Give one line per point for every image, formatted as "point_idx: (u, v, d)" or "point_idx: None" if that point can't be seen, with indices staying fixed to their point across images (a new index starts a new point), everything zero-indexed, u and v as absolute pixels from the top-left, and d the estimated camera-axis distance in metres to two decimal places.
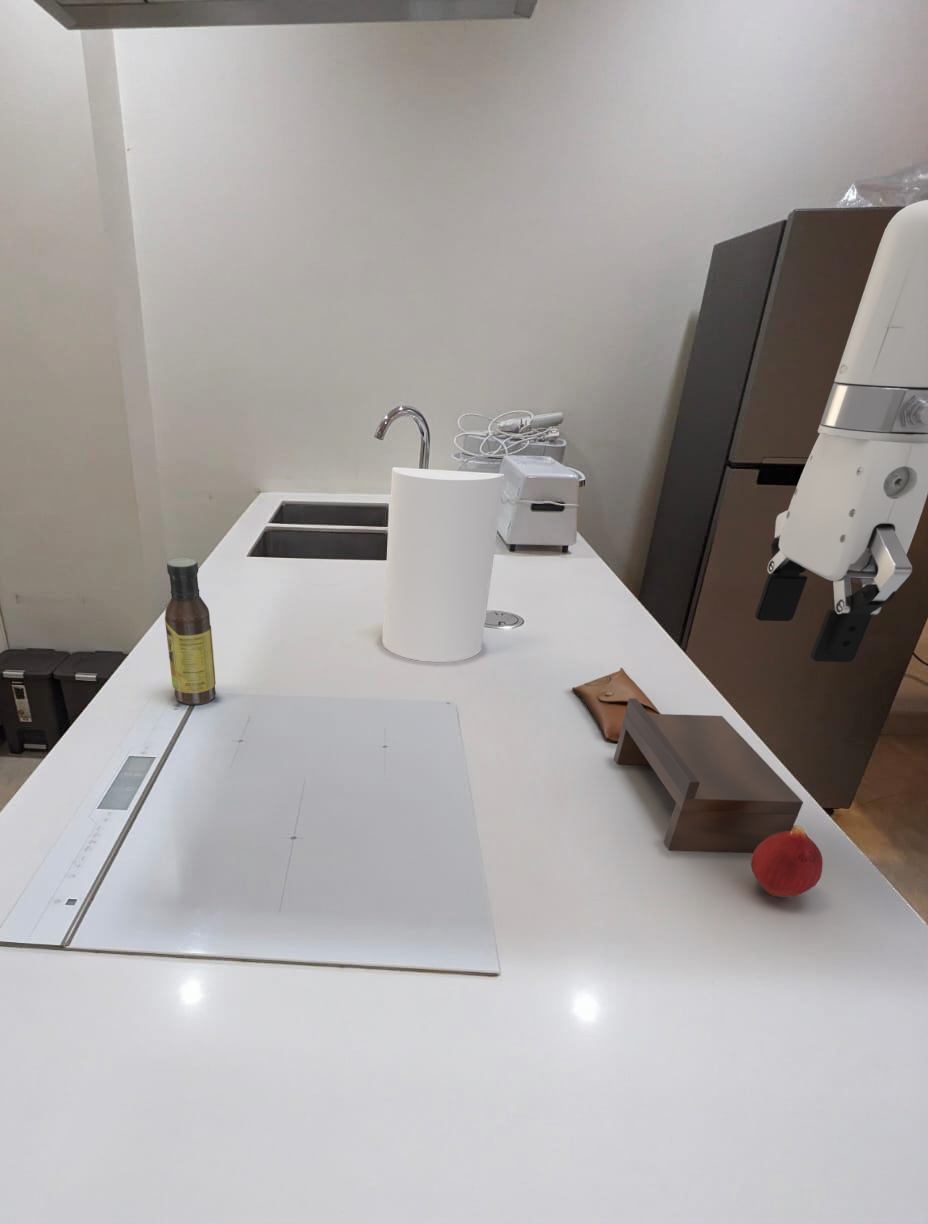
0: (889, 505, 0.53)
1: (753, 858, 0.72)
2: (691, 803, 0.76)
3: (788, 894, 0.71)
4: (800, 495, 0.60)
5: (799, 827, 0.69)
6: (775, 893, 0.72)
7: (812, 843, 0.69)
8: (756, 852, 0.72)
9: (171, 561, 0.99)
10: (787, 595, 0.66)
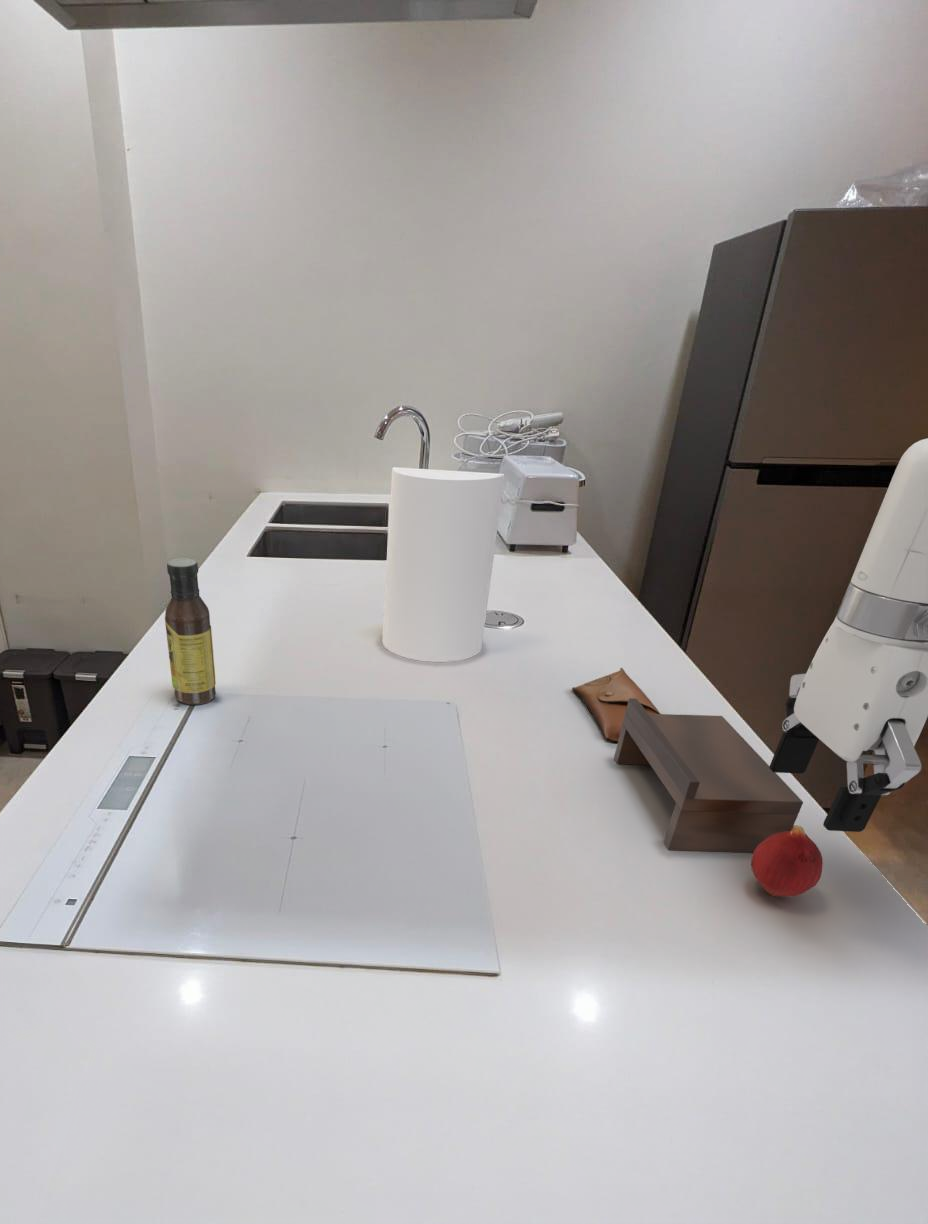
0: (901, 703, 0.57)
1: (753, 858, 0.72)
2: (691, 803, 0.76)
3: (788, 894, 0.71)
4: (816, 671, 0.64)
5: (799, 827, 0.69)
6: (775, 893, 0.72)
7: (812, 843, 0.69)
8: (756, 852, 0.72)
9: (171, 561, 0.99)
10: (800, 752, 0.70)
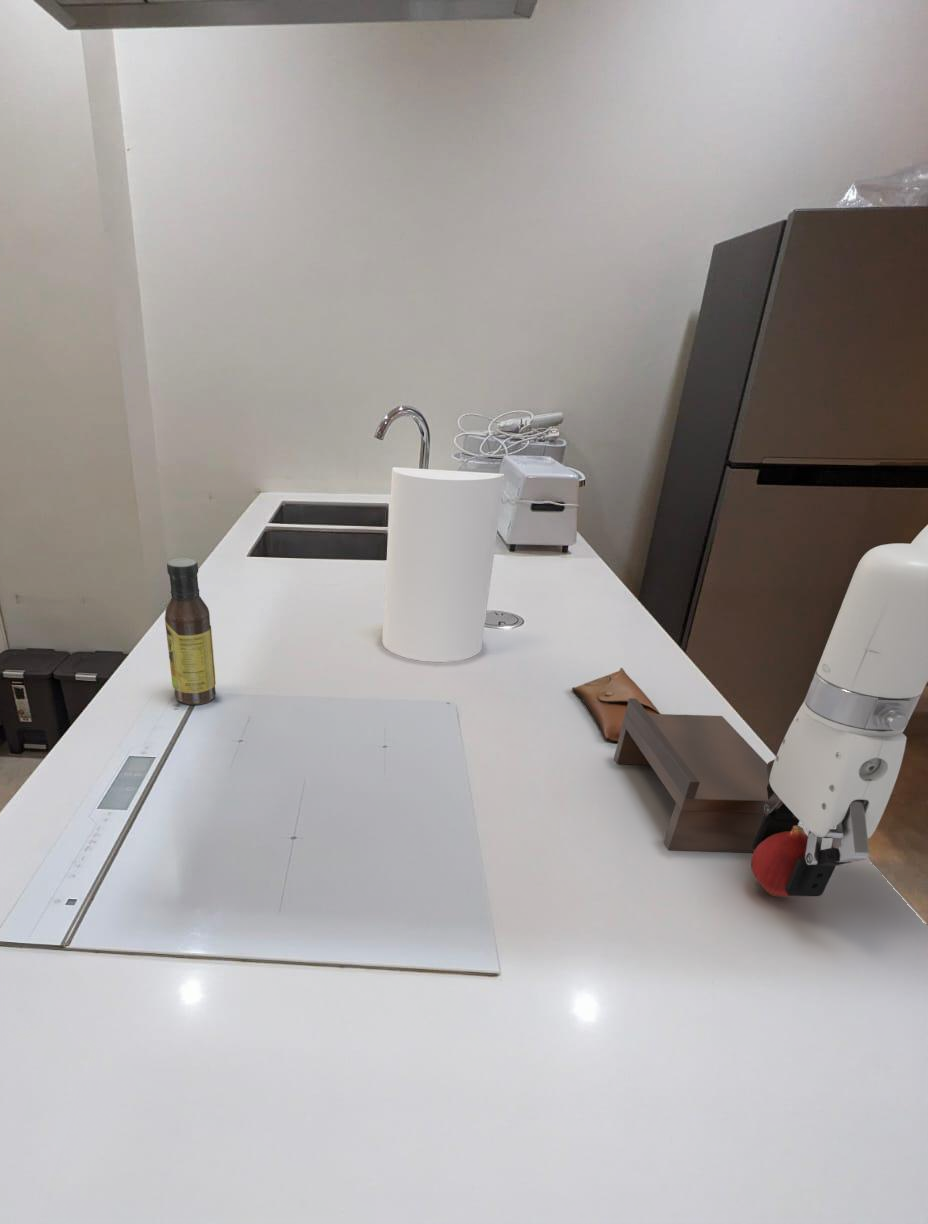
0: (864, 786, 0.61)
1: (753, 858, 0.72)
2: (691, 803, 0.76)
3: None
4: (788, 748, 0.68)
5: (799, 827, 0.69)
6: (775, 893, 0.72)
7: None
8: (756, 852, 0.72)
9: (171, 561, 0.99)
10: None
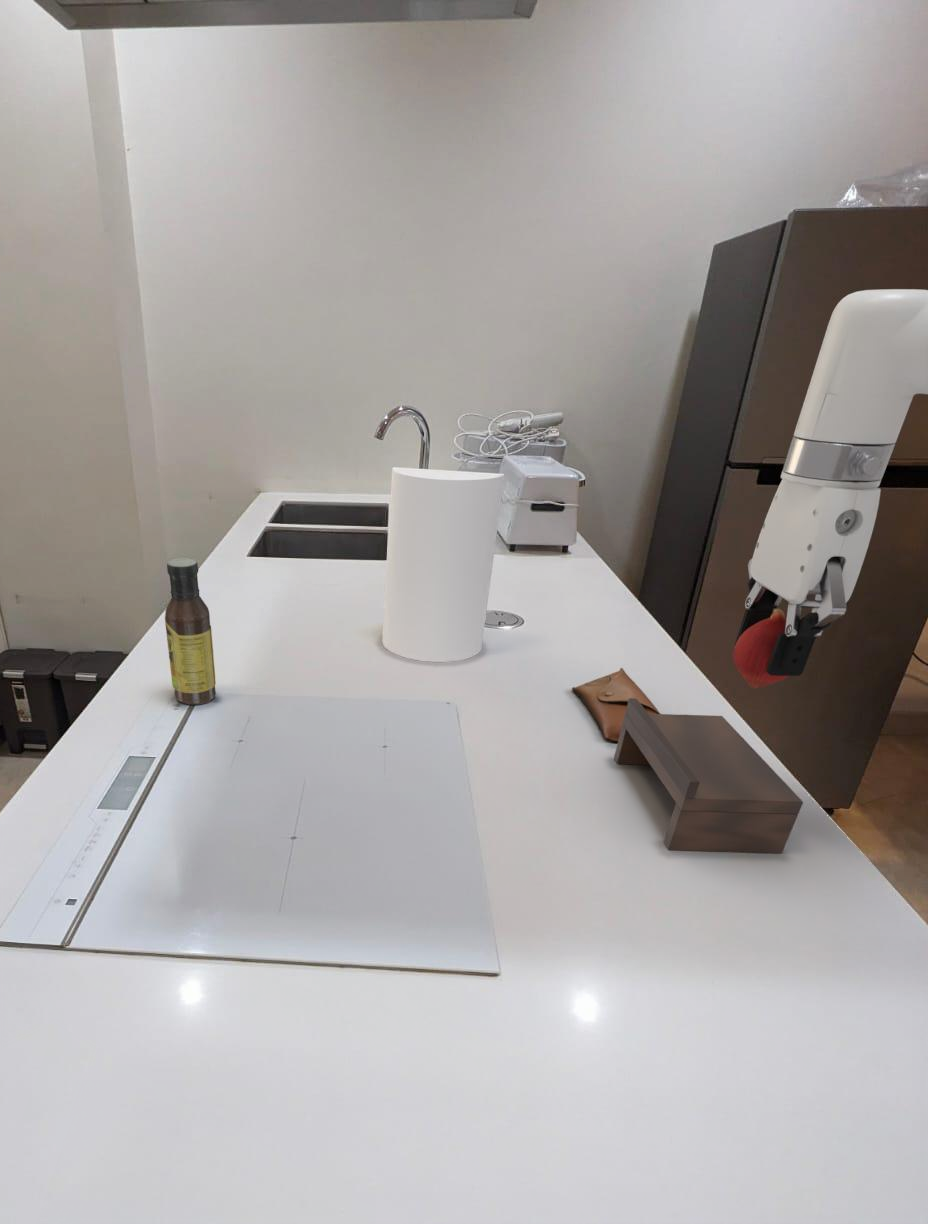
0: (840, 541, 0.63)
1: (735, 649, 0.74)
2: (691, 803, 0.76)
3: (769, 679, 0.72)
4: (767, 529, 0.70)
5: (779, 610, 0.71)
6: (757, 680, 0.73)
7: None
8: (738, 642, 0.74)
9: (171, 561, 0.99)
10: None
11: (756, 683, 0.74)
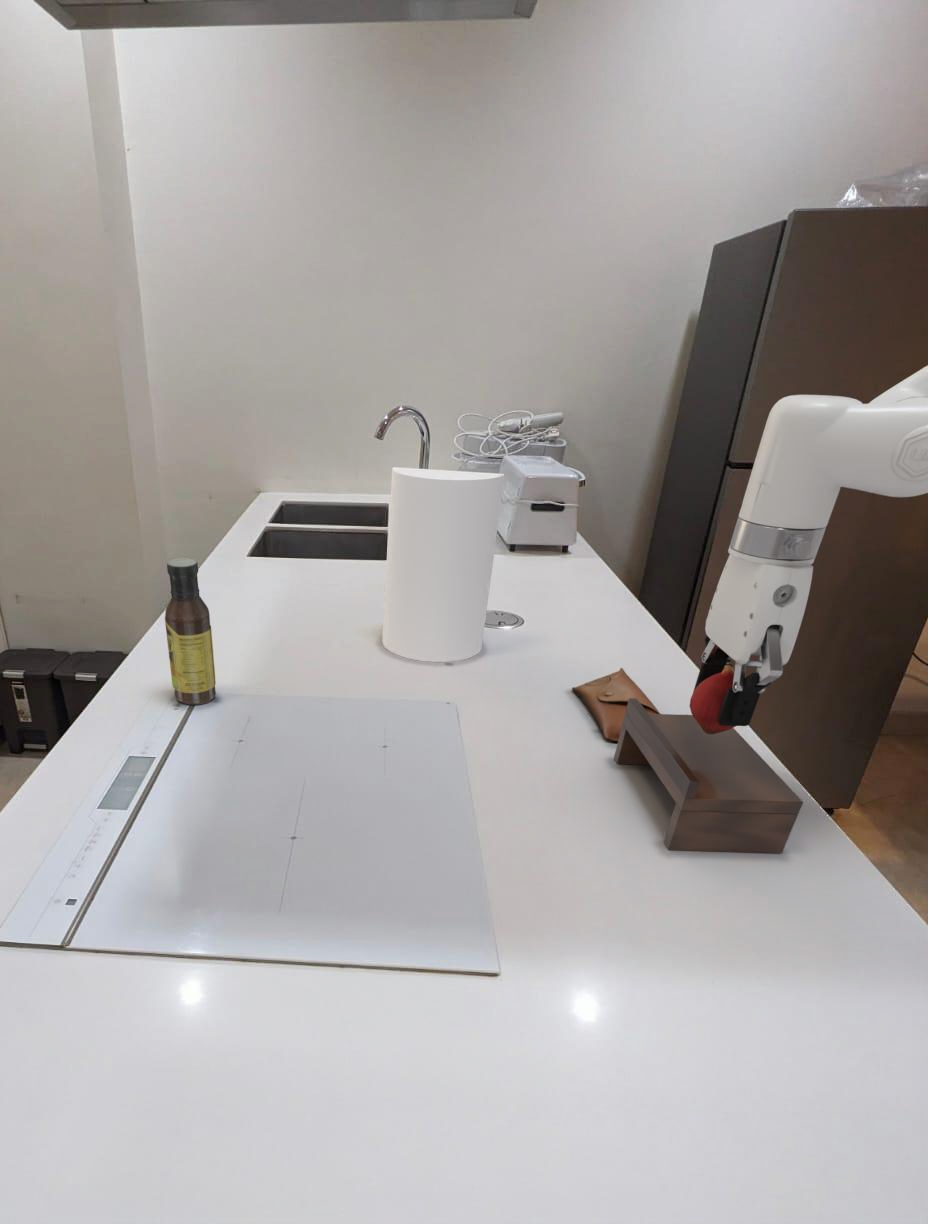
0: (777, 612, 0.71)
1: (691, 699, 0.82)
2: (691, 803, 0.76)
3: (721, 727, 0.80)
4: (719, 594, 0.78)
5: (729, 666, 0.79)
6: (710, 728, 0.81)
7: None
8: (693, 693, 0.82)
9: (171, 561, 0.99)
10: None
11: (710, 730, 0.82)
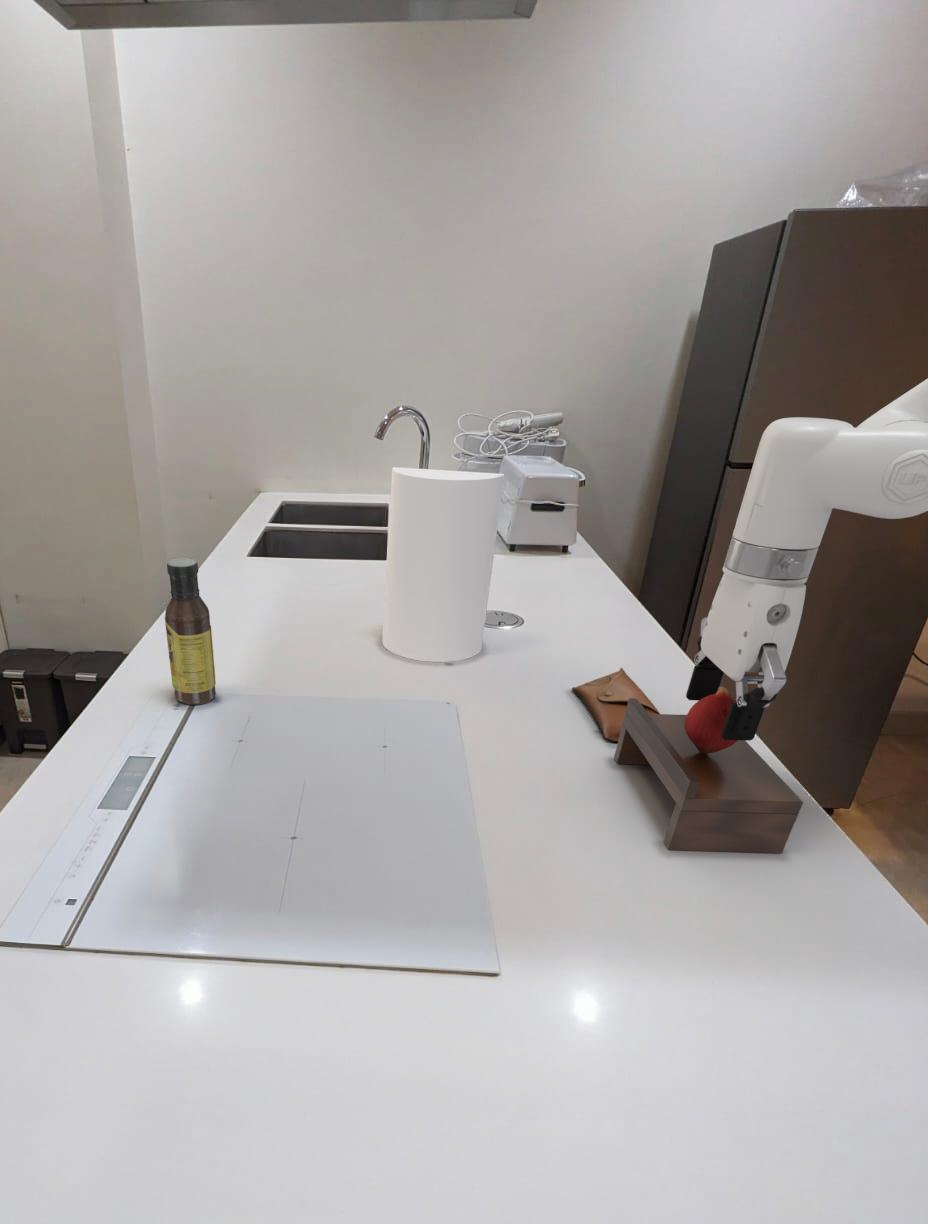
0: (771, 630, 0.72)
1: (686, 719, 0.83)
2: (691, 803, 0.76)
3: (715, 748, 0.82)
4: (714, 611, 0.79)
5: (723, 687, 0.80)
6: (704, 748, 0.82)
7: (734, 701, 0.80)
8: (688, 713, 0.83)
9: (171, 561, 0.99)
10: (709, 682, 0.85)
11: (704, 750, 0.83)
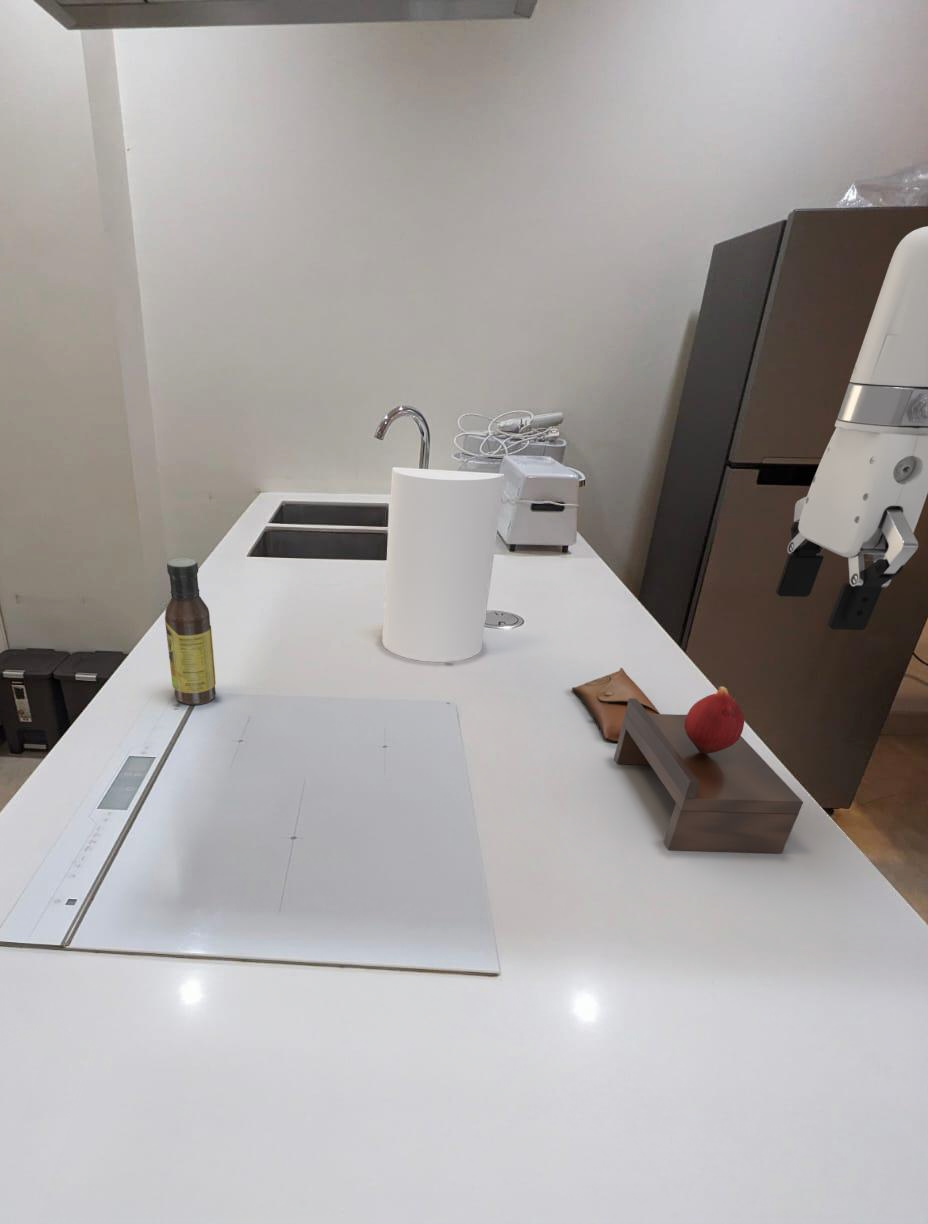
0: (898, 490, 0.61)
1: (686, 719, 0.83)
2: (691, 803, 0.76)
3: (715, 748, 0.82)
4: (818, 482, 0.68)
5: (723, 687, 0.80)
6: (704, 748, 0.82)
7: (734, 701, 0.80)
8: (688, 713, 0.83)
9: (171, 561, 0.99)
10: (805, 573, 0.74)
11: (704, 750, 0.83)
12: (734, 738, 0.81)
